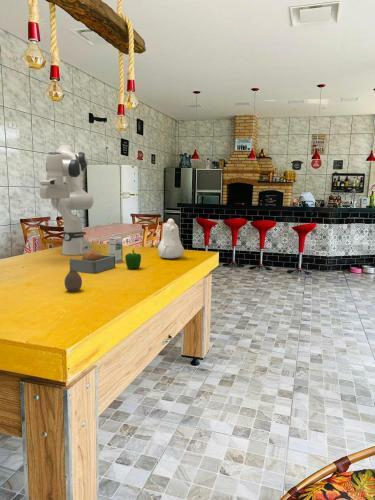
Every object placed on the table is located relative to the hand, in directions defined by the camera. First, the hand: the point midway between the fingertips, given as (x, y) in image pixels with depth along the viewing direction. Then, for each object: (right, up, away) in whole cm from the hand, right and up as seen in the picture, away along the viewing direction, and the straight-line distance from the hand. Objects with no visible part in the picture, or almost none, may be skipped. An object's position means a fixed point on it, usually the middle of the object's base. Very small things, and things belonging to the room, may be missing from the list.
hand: (56, 206), depth 217 cm
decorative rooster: (+63, -29, +26) cm, 74 cm away
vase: (+27, -41, -58) cm, 76 cm away
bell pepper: (+45, -34, -11) cm, 58 cm away
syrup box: (+32, -31, +6) cm, 45 cm away
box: (+24, -34, -14) cm, 44 cm away
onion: (+23, -34, -14) cm, 44 cm away
